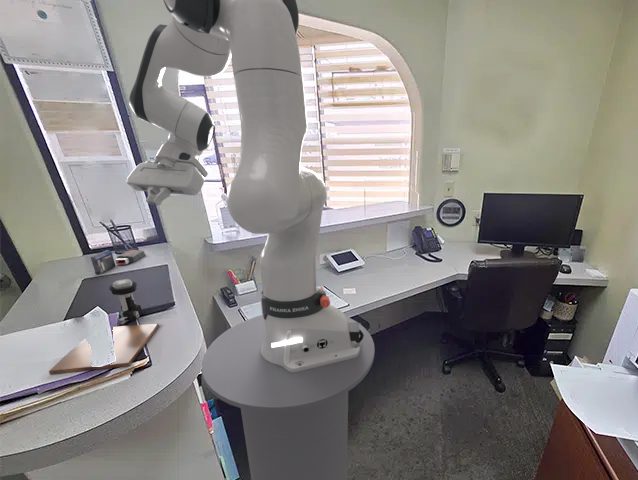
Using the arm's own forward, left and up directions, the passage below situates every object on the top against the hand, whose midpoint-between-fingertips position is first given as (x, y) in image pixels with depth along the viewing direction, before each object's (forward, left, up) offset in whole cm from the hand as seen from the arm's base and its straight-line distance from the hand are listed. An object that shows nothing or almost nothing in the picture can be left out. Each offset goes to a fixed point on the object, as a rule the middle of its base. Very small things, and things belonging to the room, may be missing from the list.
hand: (152, 203), depth 81 cm
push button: (+6, +12, -27) cm, 31 cm away
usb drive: (+26, -39, -27) cm, 54 cm away
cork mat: (+5, +25, -27) cm, 37 cm away
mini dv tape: (+29, -28, -27) cm, 49 cm away
